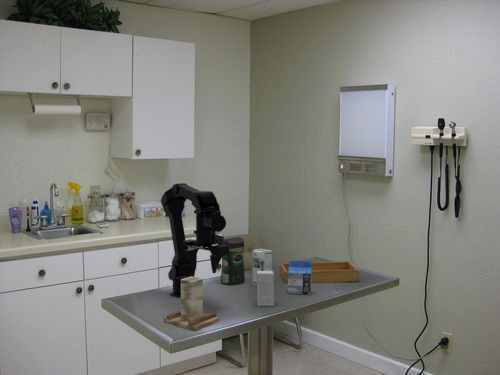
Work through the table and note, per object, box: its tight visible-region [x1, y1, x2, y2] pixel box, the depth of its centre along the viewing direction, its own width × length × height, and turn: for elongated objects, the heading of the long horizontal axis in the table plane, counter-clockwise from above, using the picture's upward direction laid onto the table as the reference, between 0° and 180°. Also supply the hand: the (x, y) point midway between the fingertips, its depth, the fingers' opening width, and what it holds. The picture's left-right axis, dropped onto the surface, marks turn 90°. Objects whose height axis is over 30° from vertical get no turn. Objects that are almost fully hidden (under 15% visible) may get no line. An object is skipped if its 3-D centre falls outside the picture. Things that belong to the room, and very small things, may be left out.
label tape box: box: [287, 260, 312, 296], centre depth 224 cm, size 9×4×12 cm, turn 80°
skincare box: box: [256, 270, 275, 307], centre depth 209 cm, size 6×4×12 cm
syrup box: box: [251, 248, 273, 287], centre depth 235 cm, size 6×6×14 cm
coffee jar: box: [220, 236, 246, 286], centre depth 239 cm, size 10×8×19 cm
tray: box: [279, 261, 359, 284], centre depth 247 cm, size 31×15×6 cm, turn 95°
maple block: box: [180, 276, 204, 321], centre depth 190 cm, size 5×5×13 cm
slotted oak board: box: [163, 310, 221, 332], centre depth 191 cm, size 14×12×2 cm
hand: (204, 271), depth 205 cm, fingers open, 9 cm apart
